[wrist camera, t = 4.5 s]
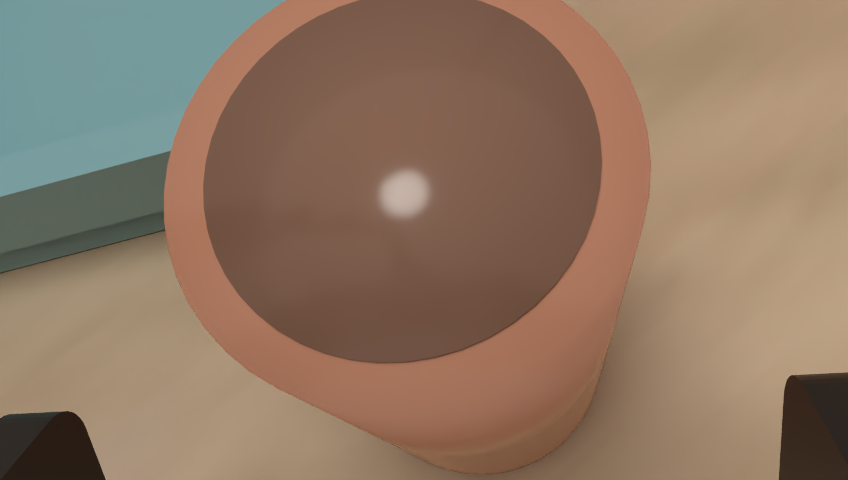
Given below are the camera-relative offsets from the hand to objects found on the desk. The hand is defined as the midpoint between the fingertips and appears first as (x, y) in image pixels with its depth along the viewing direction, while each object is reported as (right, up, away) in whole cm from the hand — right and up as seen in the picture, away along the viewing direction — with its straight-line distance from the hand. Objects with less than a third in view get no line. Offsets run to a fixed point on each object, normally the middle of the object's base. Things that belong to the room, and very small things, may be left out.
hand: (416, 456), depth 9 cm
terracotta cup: (+1, 0, +9) cm, 9 cm away
